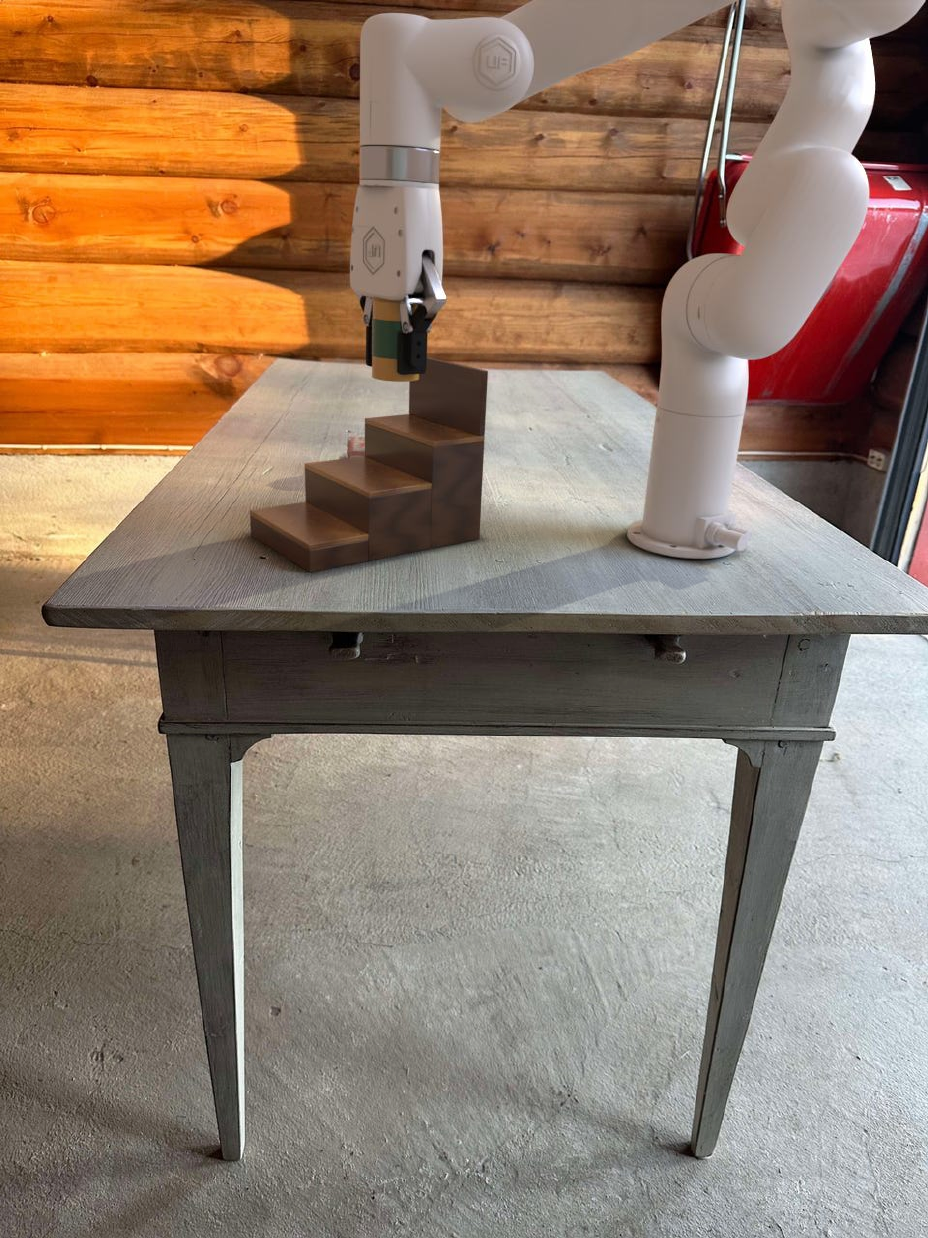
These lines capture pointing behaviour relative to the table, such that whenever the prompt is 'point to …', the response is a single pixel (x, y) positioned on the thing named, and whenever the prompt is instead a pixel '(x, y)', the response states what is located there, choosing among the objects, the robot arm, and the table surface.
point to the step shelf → (393, 481)
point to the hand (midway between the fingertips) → (395, 367)
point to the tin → (387, 340)
